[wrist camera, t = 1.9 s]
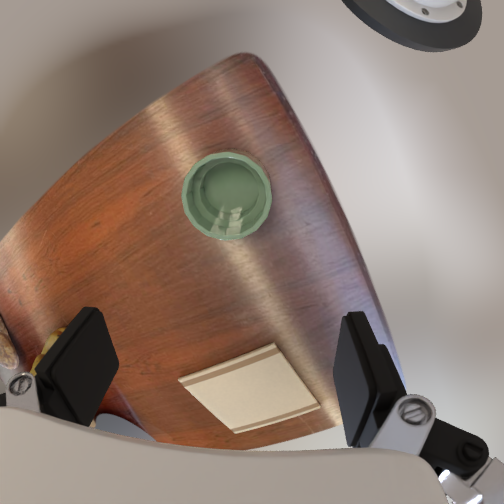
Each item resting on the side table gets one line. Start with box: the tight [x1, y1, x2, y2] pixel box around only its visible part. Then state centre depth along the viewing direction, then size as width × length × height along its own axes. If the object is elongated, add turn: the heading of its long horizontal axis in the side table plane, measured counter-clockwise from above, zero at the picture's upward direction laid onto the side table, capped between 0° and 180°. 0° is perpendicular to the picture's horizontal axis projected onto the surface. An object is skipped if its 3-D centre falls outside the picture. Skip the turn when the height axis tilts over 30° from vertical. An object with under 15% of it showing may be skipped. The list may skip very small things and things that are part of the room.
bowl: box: [181, 148, 272, 240], centre depth 25 cm, size 7×7×4 cm
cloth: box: [178, 342, 321, 433], centre depth 37 cm, size 14×14×1 cm
